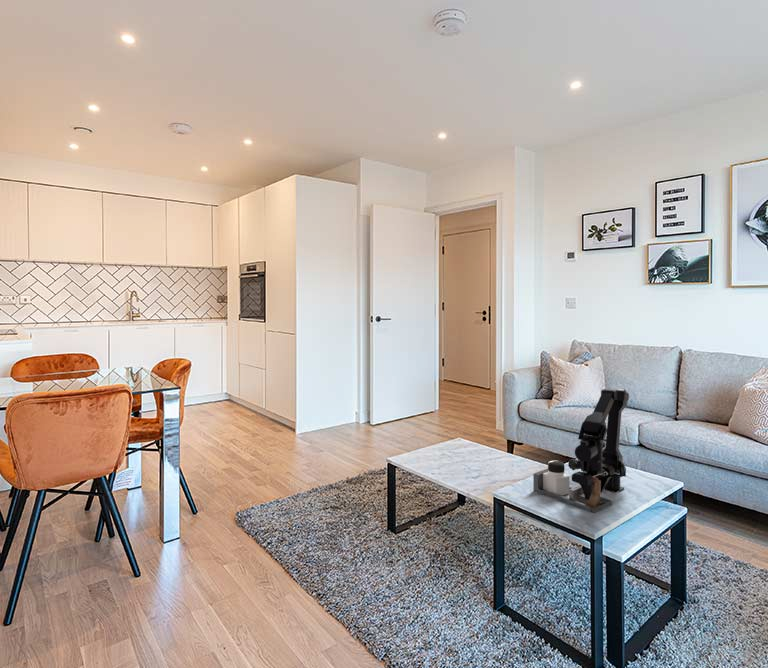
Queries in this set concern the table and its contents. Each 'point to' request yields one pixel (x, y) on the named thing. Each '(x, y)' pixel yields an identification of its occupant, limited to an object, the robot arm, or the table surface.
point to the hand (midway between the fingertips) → (593, 496)
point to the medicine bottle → (556, 479)
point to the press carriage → (595, 496)
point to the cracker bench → (539, 489)
